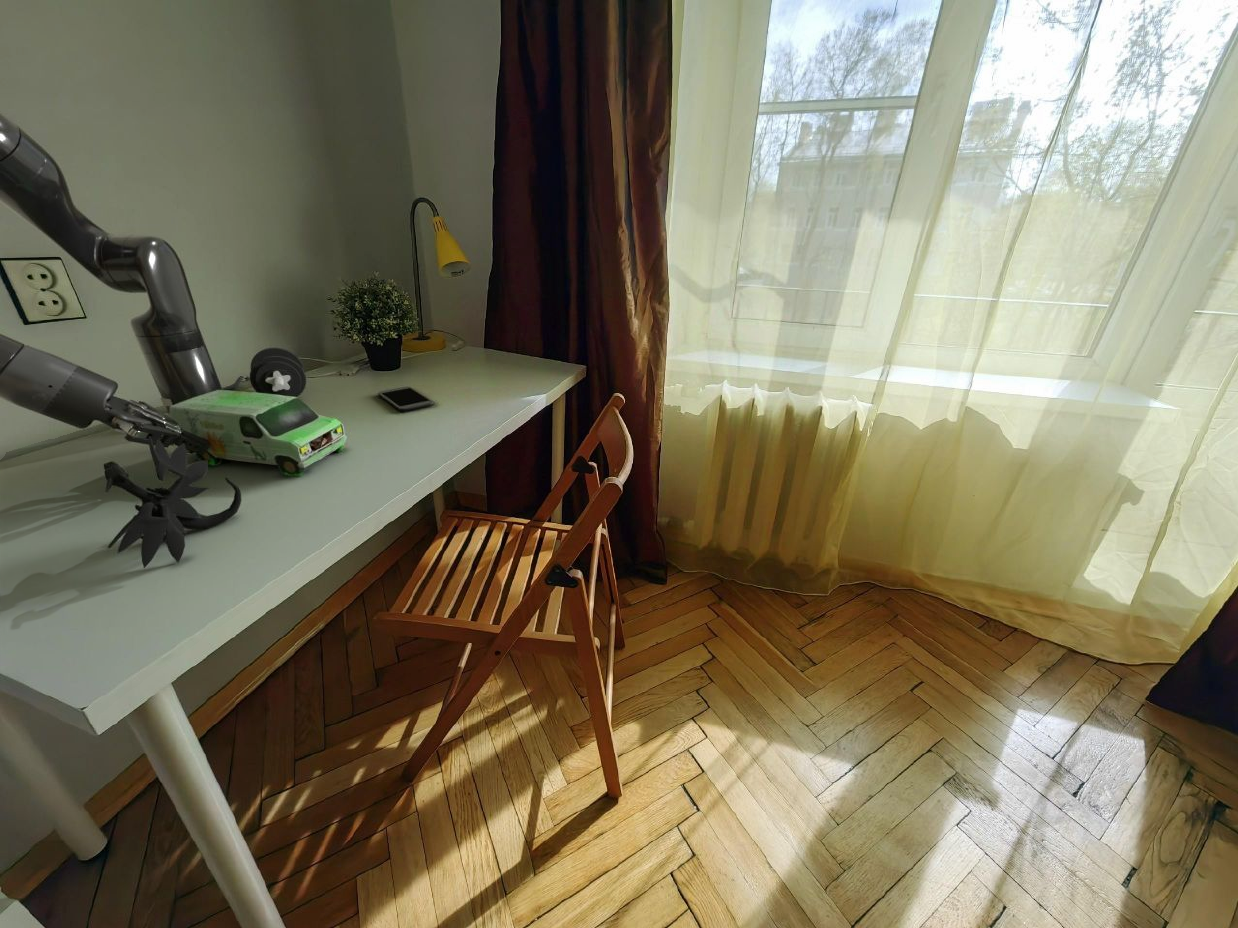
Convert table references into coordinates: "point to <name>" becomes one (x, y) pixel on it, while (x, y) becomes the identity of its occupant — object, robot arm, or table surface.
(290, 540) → the table surface
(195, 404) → the toy car
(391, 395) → the smartphone
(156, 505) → the figurine
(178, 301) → the robot arm
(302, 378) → the dumbbell
